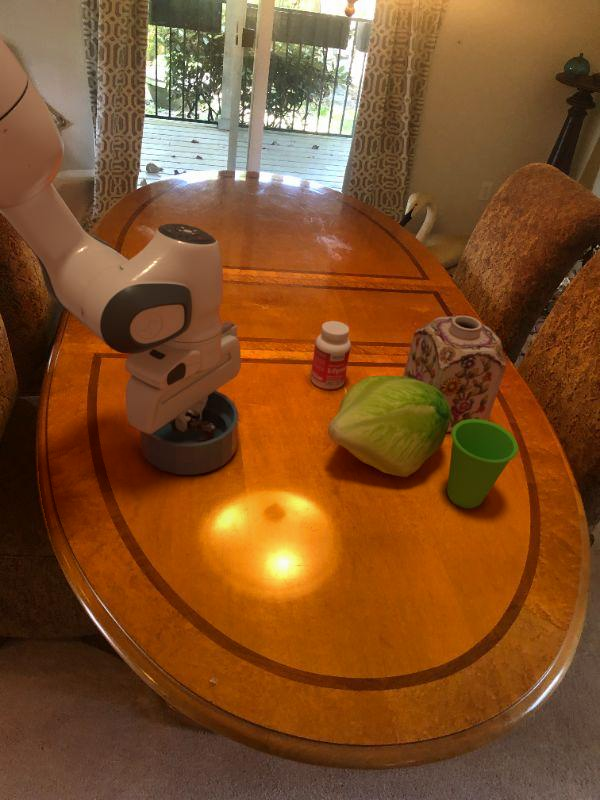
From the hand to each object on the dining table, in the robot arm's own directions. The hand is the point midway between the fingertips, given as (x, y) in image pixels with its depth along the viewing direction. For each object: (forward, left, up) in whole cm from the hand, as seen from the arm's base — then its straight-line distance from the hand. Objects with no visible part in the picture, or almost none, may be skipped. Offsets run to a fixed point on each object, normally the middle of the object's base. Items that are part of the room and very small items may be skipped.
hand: (188, 424), depth 91 cm
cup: (+17, -38, -4) cm, 42 cm away
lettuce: (+17, -24, -4) cm, 30 cm away
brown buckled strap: (0, -1, -2) cm, 3 cm away
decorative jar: (+34, -27, -4) cm, 44 cm away
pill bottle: (+29, -7, -4) cm, 30 cm away
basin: (0, 0, -4) cm, 4 cm away
